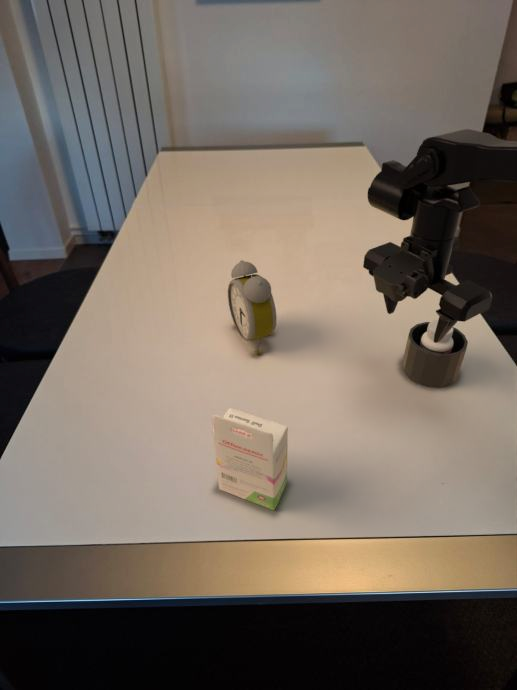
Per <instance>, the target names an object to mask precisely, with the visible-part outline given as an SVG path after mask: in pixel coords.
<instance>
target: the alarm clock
mask: <svg viewBox="0 0 517 690" xmlns="http://www.w3.org/2000/svg"><path fill="white" fill-rule="evenodd" d="M257 273H259V272H258V269H257V267H256V266H255V265H254V264H253V263H252V262H250V261H244V260H243V259H241V260H240V261H239V262H238V263H236V264H235V265H234V266H233V268H232V269H231V273H230V275H231V276H230V277H231V280H230V281H229V282H228V287H227V300H228V307H229V312H230V316H231V320H232V322H233V324H234V327H235V329H236V331H237V333H238V335H239V336H240V337H241V338H242V340H244V341H247V342H251V345H252V349H253V352H254V355H259V354H260V342H261V340H260V339H262V338H265V337H268V336H270V335H273V333H274V332H275V330H276V327H277V309H276V304H275V300H274V297H273V296H274V295H273V293H272V286H271V284H270V282H269V281H268V279H266V278H265V277H263V276H262V275H260V274H257Z"/></svg>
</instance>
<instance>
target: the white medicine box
mask: <svg viewBox="0 0 517 690" xmlns="http://www.w3.org/2000/svg"><path fill="white" fill-rule="evenodd" d="M212 428H213V431H212V438H213V445H214V454H215V463H216V472H217V482H218V483H217V485H218V489H219V490H221V492H222V491H223V492H226V493H228V494H230V495H232V496H235V497H238V498H241V499H243V500H246V501H249V502H251V503H253V504H256V505H259V506H261V507H263V508H266V509H268V510H270V511H275V510H276V509H277V506H278V504H279V502H280V499H281V497H282V495H283V494H284V491H285V488H286V487H287V483H288V447H289V446H288V444H289V443H288V441H289V440H288V433H289V432H288V431H289V430H288V429H289V428H288V425H285V424H282V423H279V422H275V421H272V420H269V419H266V418H264V417H260V416H257V415H253V414H250V413H247V412H244V411H242V410H239V409H235V408H233V407H229V408H228V409H227V411H226V412H225V414H224V415H223V416H220V415H216V414H213V415H212Z"/></svg>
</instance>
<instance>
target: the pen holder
mask: <svg viewBox="0 0 517 690" xmlns="http://www.w3.org/2000/svg"><path fill="white" fill-rule="evenodd" d="M430 322H431V321H424V322H421V323H417V324H415V325H414V326H412V327H411V328H410V329H409V332H408V336H407V340H406V344H405V349H404V354H403V358H402V365H401V367H402V370H403V373H404V374H405V376H406V377H408V379H410V380H411V381H413V382H414V383H416V384H418V385H421V386H423V387H427V388H435V389H438V388H440V389H441V388H446V387H448V386H451V385H453V384H454V383H455V382H456V381H457V380H458V377H459V374H460V372H461V367H462V364H463V361H464V358H465V355H466V351H467V349H468V344H469V341H468V339H467V337H466V335H465V334H464V333H463V332H462V331H460V330H459V329H458V328H456V327H454V326H453V334H452V339H453V348H452V351H451V354H437V353H433V352H429V351H427V350H425V349H423V348H421V347H419V346H420V342H421V338H422V335H423V334H424V333H425V332H427V328H428V325H429V323H430Z"/></svg>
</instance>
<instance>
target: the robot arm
mask: <svg viewBox="0 0 517 690" xmlns="http://www.w3.org/2000/svg"><path fill="white" fill-rule="evenodd" d="M421 142H422V143H421V144H420V145H419V146H418V150H417V152H416V156H415V157H413V159H412V160H411V161H410V163H408V164H407V165H403V163H401V162H399V161H397V160H394V159H393V160H388V161H385V162H382V164H381V170H380V171H379V172H378V173H377V174H376V175H375V177H374V178H373V179H372V181H371V183H370V186H369V187H368V189H367V202H368V203H369V205H370V206H371V207H372V208H374V209H377V210H379V211H381V212H383V213H385V214H388V215H390V216H391V217H393V218H396V219H398V220H401V221H408V220H410V219H412V224H411V229H410V233H409V235H407V236H405V237H403V238H402V241H401V243H400V245H398V244H396V243H394V242H391V241H389V242H386V243H383V244H380V245H378V246H375V247H372V248H370V249H368V250H367V251H366V253H365V254H364V256H363V265H362V267H363V269H365V270H367V271H368V274H369V275H370V276H371V277H373V281H374V286H375V290H376V291H377V292H378V293H379V294H382V295H383V299H384V305H385V307H386V312H387V314H388V315H392V314H394V312H395V311H396V308H397V306H398V303H399V302H402V301H404V300H405V299H407V298H408V297H409V298H412V299H413V300H416V299H418V298H419V297H420V296H421V295H423V294H424V293H425V292H426V291H427V290H428V289H429V290H431V291H433V292H435V293H437V294H438V295H441V296H440V298H439V303H438V306H439V308H438V309H437V310H435V313H436V314H437V315H438V319H437V320H438V323H437V327H436V331H435V334H434V342H435V343H437V342H439V341H441V339H442V338H443V337H444V336H445V335H446V334H447V333H448V332H449V330H450V329H451V328H452V327H454V326H455V325H456V324H457V323H458V322H462V323H463V322H464V323H465V322H467V321H469V320H471V319H472V318H474V317H476V316H478V315H480V314H482V313H484V312H487V311H488V310H490V307H491V305H492V302H493V294H492V292H491V290H489V289H488V288H485V287H483V286H481V285H479V284H477V283H475V282H473V281H471V280H469V279H467V280H464V281H462V282H460V283H458V284H455V283H453V282H451V281H449V280H447V279H446V276H449V275H451V274H453V269H454V266H452V265H450V264H449V263H450V259H451V257H452V251H453V250H454V249H456V248H458V247H459V246H460V242H461V239H459V238H457V237H456V236H457V235H456V234H457V231H458V227H459V222H460V218H461V215H462V213H463V212H466V211H469V210H472V209H475V208H478V207H479V206H480V205H481V202H480V200H479V198H478V197H477V195H475V194H474V192H473V190H472V187H471V186H469V185H468V186H465V187H461V188H455V187H453V186H455V185H460V184H467V183H473V182H478V181H497V182H509V183H517V140H506V139H502V138H498V137H497V136H494V135H493V134H491V133H487V132H484V131H479V130H475V129H470V128H469V129H468V128H465V129H460V130H456V131H452V132H447V133H443V134H439V135H435V136H430V137H427V138H425V139H424V140H422V141H421Z"/></svg>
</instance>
